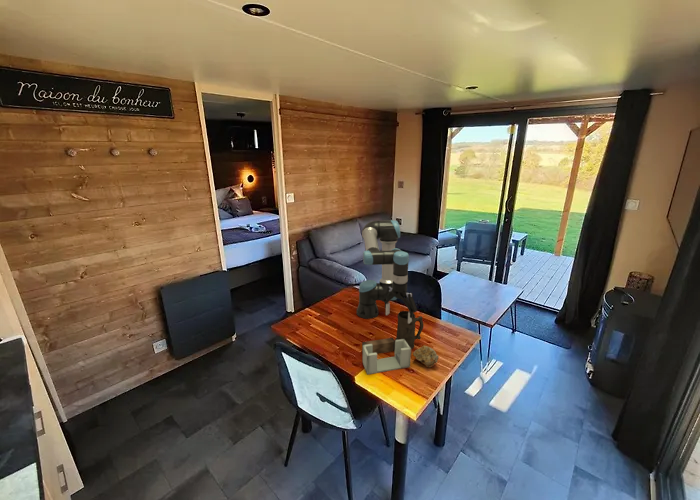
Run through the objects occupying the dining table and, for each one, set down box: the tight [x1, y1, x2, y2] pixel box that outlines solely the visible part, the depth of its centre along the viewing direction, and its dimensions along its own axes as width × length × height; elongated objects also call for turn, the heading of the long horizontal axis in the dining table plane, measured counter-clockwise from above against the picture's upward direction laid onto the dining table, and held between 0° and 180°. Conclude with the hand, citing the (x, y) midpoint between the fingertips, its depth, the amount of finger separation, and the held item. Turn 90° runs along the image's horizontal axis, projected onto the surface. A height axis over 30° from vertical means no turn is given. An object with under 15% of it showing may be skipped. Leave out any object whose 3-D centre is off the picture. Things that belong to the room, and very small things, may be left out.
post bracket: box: [361, 339, 412, 376], centre depth 154 cm, size 9×23×11 cm, turn 103°
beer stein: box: [395, 310, 424, 350], centre depth 170 cm, size 15×11×20 cm
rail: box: [361, 337, 396, 355], centre depth 166 cm, size 18×4×6 cm, turn 103°
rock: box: [412, 345, 440, 368], centre depth 155 cm, size 12×10×10 cm
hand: (398, 318), depth 160 cm, fingers open, 13 cm apart
